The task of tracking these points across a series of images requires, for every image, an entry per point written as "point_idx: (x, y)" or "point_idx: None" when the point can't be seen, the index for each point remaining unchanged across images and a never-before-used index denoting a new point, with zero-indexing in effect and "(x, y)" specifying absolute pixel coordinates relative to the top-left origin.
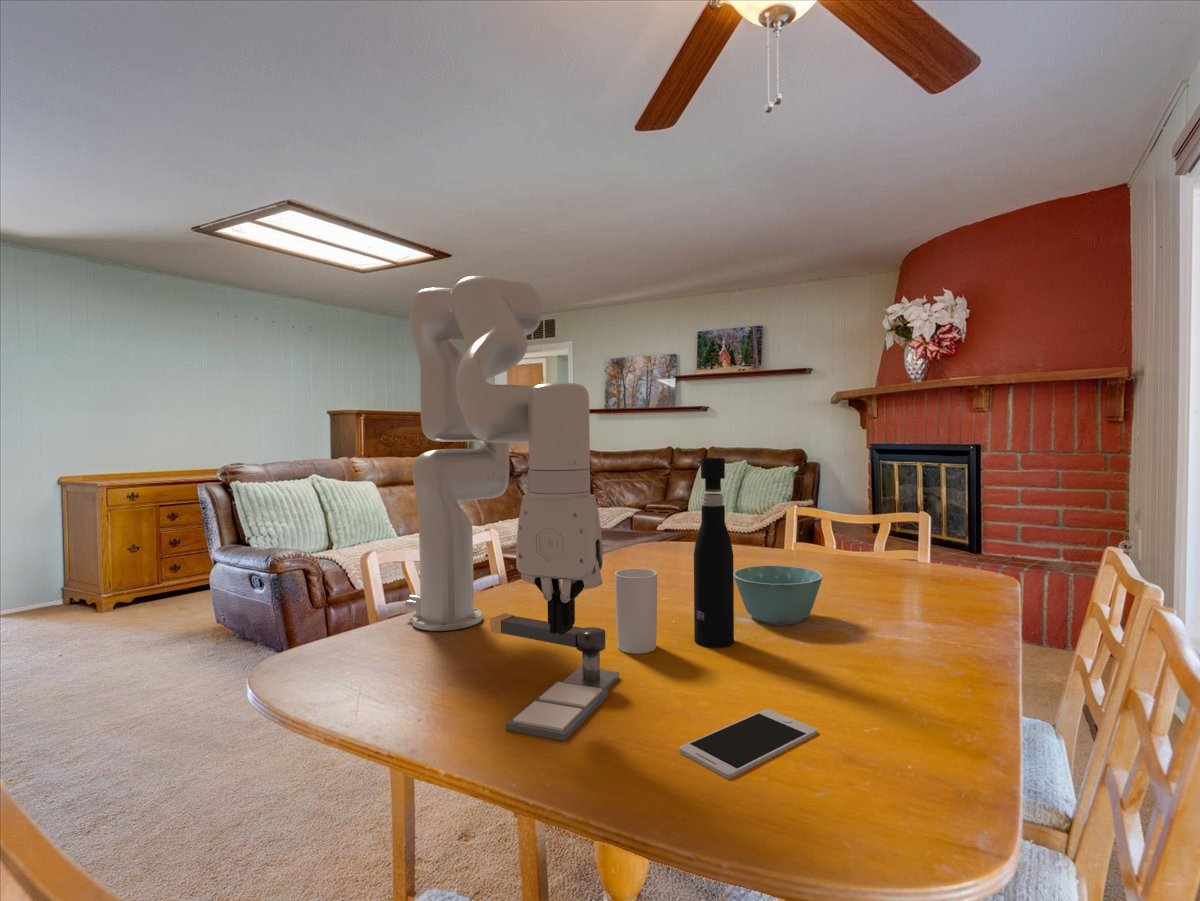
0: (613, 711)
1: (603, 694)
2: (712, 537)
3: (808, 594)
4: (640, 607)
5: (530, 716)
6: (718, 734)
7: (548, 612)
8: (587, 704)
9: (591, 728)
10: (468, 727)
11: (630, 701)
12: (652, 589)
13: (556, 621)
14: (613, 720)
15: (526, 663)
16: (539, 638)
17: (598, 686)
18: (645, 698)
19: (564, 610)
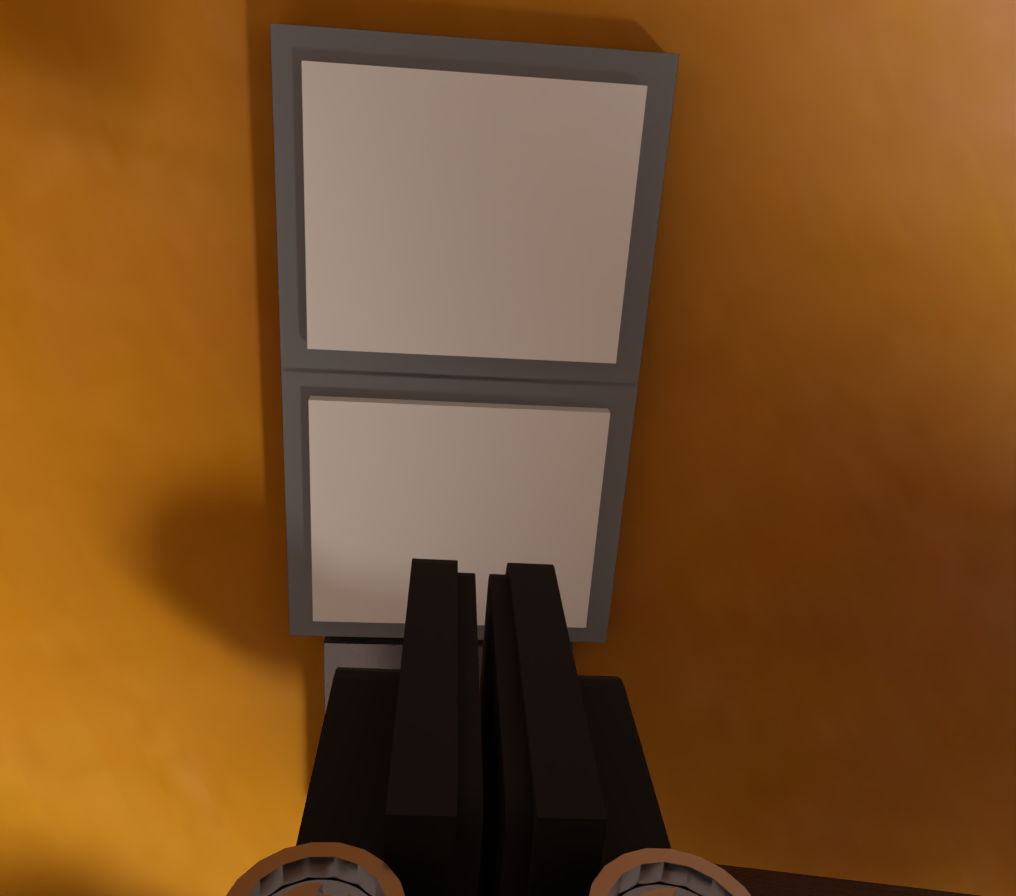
0: (190, 462)
1: (288, 575)
2: None
3: None
4: None
5: (558, 157)
6: None
7: (634, 758)
8: (309, 423)
9: (211, 235)
10: (899, 20)
11: (159, 594)
12: None
13: (490, 658)
14: (141, 363)
15: (859, 827)
16: (813, 887)
17: (358, 655)
18: (101, 648)
19: (387, 790)
